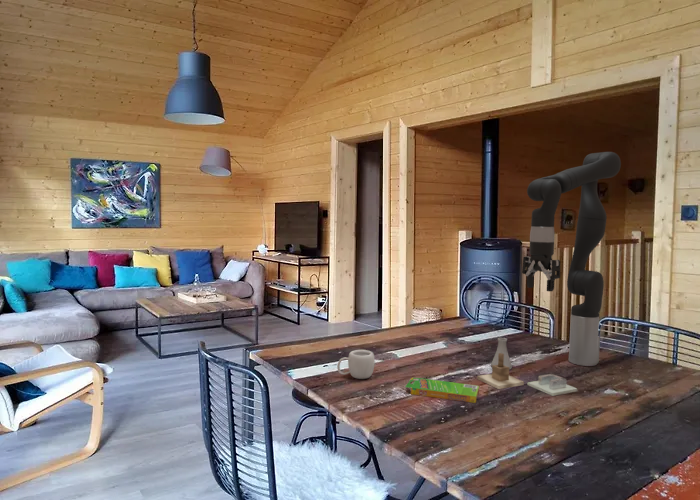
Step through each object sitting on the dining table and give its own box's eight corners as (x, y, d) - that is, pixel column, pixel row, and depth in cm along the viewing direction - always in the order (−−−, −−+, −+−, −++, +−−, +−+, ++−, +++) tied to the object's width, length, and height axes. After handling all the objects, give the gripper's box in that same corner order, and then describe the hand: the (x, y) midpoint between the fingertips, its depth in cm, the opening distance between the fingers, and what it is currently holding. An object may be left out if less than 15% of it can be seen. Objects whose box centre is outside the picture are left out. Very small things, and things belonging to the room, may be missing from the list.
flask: (513, 371, 171) (514, 342, 170) (491, 369, 172) (492, 340, 172) (511, 364, 178) (512, 336, 177) (489, 363, 180) (490, 335, 179)
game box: (475, 407, 142) (404, 393, 149) (478, 395, 151) (411, 383, 158) (476, 396, 142) (404, 383, 149) (479, 385, 151) (412, 373, 158)
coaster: (551, 380, 161) (551, 378, 161) (577, 391, 152) (577, 388, 152) (527, 384, 157) (527, 382, 157) (552, 395, 148) (552, 393, 148)
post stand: (501, 375, 166) (502, 348, 166) (523, 384, 157) (525, 356, 157) (477, 379, 162) (478, 351, 162) (498, 389, 153) (499, 360, 152)
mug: (371, 371, 168) (372, 348, 167) (376, 380, 160) (377, 356, 159) (335, 373, 166) (335, 349, 166) (338, 381, 158) (339, 357, 157)
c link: (551, 381, 158) (552, 373, 158) (566, 387, 153) (566, 379, 153) (538, 383, 156) (538, 375, 156) (552, 389, 151) (552, 381, 151)
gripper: (567, 241, 162) (565, 292, 163) (534, 239, 174) (532, 285, 176) (550, 242, 158) (547, 293, 160) (517, 239, 171) (515, 286, 173)
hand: (539, 289), depth 168 cm, fingers open, 8 cm apart
